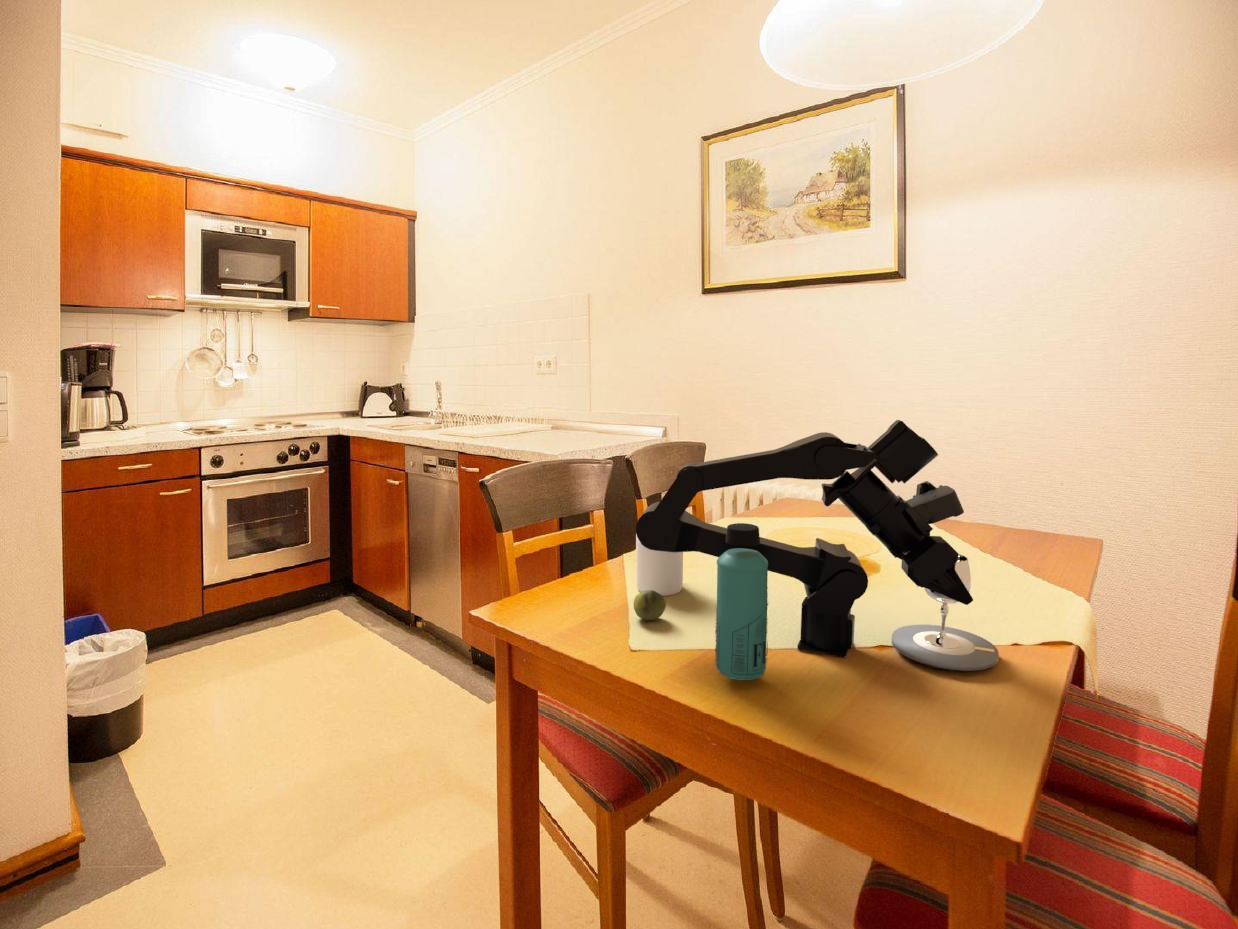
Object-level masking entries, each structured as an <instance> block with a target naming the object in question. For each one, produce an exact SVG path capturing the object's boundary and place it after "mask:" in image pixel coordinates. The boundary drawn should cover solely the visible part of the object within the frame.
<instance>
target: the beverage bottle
mask: <svg viewBox="0 0 1238 929" xmlns="http://www.w3.org/2000/svg"><path fill="white" fill-rule="evenodd" d="M726 528H727V533H726V543H728V544H730V545H735V546H755V545H758V544H760V537H761V536H760V527H759V526H758V525H756V524H752V523H743V522H741V523H739V522H736V523H730V524H728V525H727V527H726ZM716 565H717V566H716V567H717V568H716V572H717V574H716V580H717V581H716V606H715V607H716V608H715V612H716V613H715V621H716V622H715V633H714V634H715V635H714V637H715V639H714V640H715V644H714V648H715V649H714V652H715V655H714V656H715V658H714V660H715V666H716V669H717V671H718V672H719V673H720V674H721V675H722V676H725V677H727V678H729V679H732V680H733V679H734V680H739V681H750V680H751V681H752V680H755V679H759V678H761V677H762V676H764V674H765V672H766V669H767V664H768V657H767V656H768V651H769V650H768V648H769V645H768V644H769V640H768V635H767V634H768V631H769V630H768V629H769V628H768V624H769V618H768V606H769V604H770V602H769V601H768V600H769V599H770V598H769V593H770V592H769V590H768V589H769V587H768V578H769V577H768V574H769V573H768V572H769V571H768V561H767V559H766V558H765V557H764V556H763V555H762V554H761V553H759V552H758V551H756V550H752V549H745V548H735V549H729V550H727V551H726V552H724V553H723V554H722V555H721V556H720V557H717V560H716ZM768 592H769V593H768ZM768 598H769V599H768Z"/></svg>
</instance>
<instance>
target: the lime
mask: <svg viewBox="0 0 1238 929" xmlns="http://www.w3.org/2000/svg"><path fill="white" fill-rule="evenodd" d="M666 603H667V602H666V599H665V598H664V596H662V595H661V594H659V593H657V592H656V591H653V590H645V591H642V592H639V593H638V594H637V595H636V596H635V597H634V599H633V609H634V612H635V614H636V616H637V617H638V618H640V619H642V620H644V621H647V622H648V621H656V620H657V619H658V618H659V619H660V618H661V617H662V615H663V614H664V612H665V610H666V606H667V604H666Z"/></svg>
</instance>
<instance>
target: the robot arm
mask: <svg viewBox="0 0 1238 929" xmlns="http://www.w3.org/2000/svg"><path fill="white" fill-rule="evenodd" d="M938 456H939V453H938V451H937V450H936V449H935V448H934V447H933V446H932V445H931V444H930V443H929V442H928V441H927V440H926V439H925V438H924V437H923V436H920V435H918V434H917V432H915V431H914V430H913V429H912V428H911V427H909V426H908V425H907V424H906V423H905V422H904V421H903V420H900V419H896V420H894V422H893V423H892V424H891V425H889V426H888V428H887V430H886V431H885V432H883V433H882V434H881V435H880V436H878V437H877V439H875V441H873V442H872V443H871V444H870V445H869V446H868V447H867V446H866V445H863V444H861V443H849V442H844V441H843V439H841V438H839V436H837V435H835V434H834V433H831V432H827V431H826V432H817V433H814V434H812V435H809V436H806V437H803V438H801V439H798V440H795V441H792V442H791V443H789V444H786V445H784V446H781V447H778V448H776V449H771V450H766V451H760V452H759V451H758V452H754V453H747V454H742V455H741V454H740V455H736V456H730V457H726V458H725V457H724V458H720V459H719V458H718V459H713V460H707V461H702V462H693V461H691V462H689V463H685V464H684V465H683V466H681V468H680V470H679V471H678V472H677V474H676V478H675V479H674V481H673V482H672V484H671V485H670V487H669V488H668V489H667V491H666V492H665V494H664V495H663V497H662V498H661V500H660V501H655V502H654V503H652V504H650V505H649V506H648V507H646V509H645V510H644V511H643V512H642V514H641V515H640V517H639V518H638V519H637V522H636V526H635V535H636V534H637V538H638V539H639V541H640V542H641V544H642V545H643V546H644V547H645V548H648V549H650V550H655V551H665V552H683V553H689V552H690V553H691V552H694V553H695V552H696V553H702V554H706V555H709V556H712V557H717V558H719V557H720V556H721V555H722V554H723V553H724V552H726V551H727V550H729V549H735V548H745V549H752V550H756V551H758V552H759V553H761V554H762V555H763V556H764V557H765V558H766V559H767V561H768V572H771V573H774V574H775V573H776V574H780V575H782V576H787V577H791V578H793V579H795V580H798V582H799V581H800V582H801V583H802V584H803V586H804V590H805V594H806V596H805V597H804V599H803V601H802V603H801V613H800V614H801V615H800V617H801V618H800V639H799V641H798V643H797V645H796V646H797V647H796V648H797V649H798V650H800V651H806V652H812V653H816V654H821V655H827V656H833V657H839V658H847V656H848V652H849V650H851V649H852V648H853V646H854V645H853V644H854V641H855V640H854V638H855V622H856V619H855V618H856V617H855V614H852V608H853V605H854V603H855V601H856V600H858V599H860V598H861V597H862V596H864V594H865V593H866V592H867V589H868V587H869V577H868V574H867V572H866V570H865V568H864V567H863V565H862V563H861V561H860V560H859V558H858V557H857V555H856V554H855V553H854V552H852V551H851V550H848V548H847V546H846V544H845V543H839V544H836V543H832V542H829V541H827V540H824V539H822V538H819V537H816V539H815V544H814V545H815V546H807V547H802V546H795V545H792V544H788V543H784V542H780V541H776V540H772V539H769V538H765V537H762V536H759V537H760V544H758V545H755V546H735V545H730V544H728V543H726V533H727V527H725V526H724V527H723V526H720V525H716V524H713V523H708V522H705V521H703V520H702V519H699V517H698V516H697V517H696V516H695V515H693V514H692V513H690V512H688V511H687V508H689V505H691V503H692V501H693V500H694V498H695V497H696V496H697V494H698V493H699V492H703V491H711V490H716V489H722V488H727V487H728V488H729V487H733V486H739V485H744V484H745V485H747V484H751V483H752V484H753V483H758V482H764V481H765V482H766V481H769V480H776V479H795V480H796V479H797V480H811V481H813V480H817V481H818V480H821V481H823V480H826V481H829V480H834V479H836V480H834V481H833V482H832V483H825V482H824V483H822V484H821V489H822V495H821V496H822V497H821V501H822V503H823V504H824V506H825V507H830V506H831V505H832V504H833V503H834V502H835V501H837V499H838V500H839V501H840V502H841V503H842V504H843V505H844V506H845V507H846V508H847V509H848V510H849V511H850V512H851V513H852V514H853V515H854V516H855V517H856V518H857V519H858V520H859V522H861V524H863V525H864V526H865V528H866V529H867V530H868V531H869V533H870V534H872V536H874V537H876V539H878V540H879V541H880V543H882V545H884V547H885V548H886V549H887V550H888V552H889V553H890V554H891V555H892V556H893V557H894V558H895V559H896V558H898V559H899V560H901V567H900V568H901V569H902V571H903V573H905V575H906V576H907V577H908V578H909V579H910V581H911V582H912V583H914V584H915V585H916V587H920V588H923V589H924V588H927V589H929V590H932V591H934V592H937V593H939V594H942V595H944V596H947V597H949V598H951V599H954V600H956V601H958V602H957V603H960V604H962V605H965V606H968V605H970V604H971V603H972V602H973V601H974V598H973V597H972V595H971V593H970V591H969V592H968V590H967V588H966V587H965V585H964V584H963V582H962V580H961V579H960V577H959V575H958V574H957V572H956V570H955V565H956V562H957V561H958V555H959V554H960V553H958V551H957V550H956V549H954V548H953V546H951V545H950V543H949V542H948V541H947V540H945V539H944V538H943V537H942V536H941V535H939V536H938V535H931V532H932V530H934V528H933V527H932V526H931V524H936V523H938V522H941V521H945V520H947V519H949V518H952V517H955V518H956V517H959V516H961V515H963V514H964V513H965V511H964V508H963V506H962V504H961V501H960V499H959V496H958V494H957V492H956V490H955V489H954V488H952V487H951V486H949V485H942V484H940V485H938V487H936V486H935V485H934V484H933V483H931V482H929V480H928V481H927V480H925V481H923V482H920V483H918V484H917V485H916V493H915V495H912V498H910V499H907V500H904V499H903V498H902V497H901V496H900V494H898V495H896V493H894V491H892V490H891V488H890V487H889V486H887V484H885V482H883V480H881V478H880V477H879V476H878V475H877V474H876V473H874V472H873V470H872V469H874V468H876V469H877V471H878V472H879V473H881V475H882V476H883V477H885V478H886V480H888V482H890V483H891V484H894V483H895V482H896V483H898V484H899V483H900V482H901V483H902V484H904V485H905V484H906V483H908V481H910V480H911V479H912V478H913V477H914V476H915V475H916V474H918V473H919V472H920V471H921V470H923V469H924V468H925V467H926V466H927V465H929V463H931V462H932V461H933V460H934V459H936V458H937V457H938ZM854 469H856V470H854ZM849 470H854V471H853V472H851V473H850V472H849Z"/></svg>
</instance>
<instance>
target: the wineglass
mask: <svg viewBox="0 0 1238 929" xmlns="http://www.w3.org/2000/svg"><path fill="white" fill-rule="evenodd" d="M958 554H959V555H958V561H957V562H956V565H955V570H956V572H957V574H958V575H959V577H960V579H961V580H962V582H963V584H964V585H965V587H966V588H967V590H968V592H969V593H970V591H971V587H972V574H971V567H970V563H969V558H968V557H967V556H965V555H963V554H960V553H958ZM923 589H924V592H925V593H926V594H927V595H928V596H929V597H930V598H931V599H933V600H935V601H936V602H939V603H941V606H940V607H939V609H940V614H941V625H940V626H941V631H940V633H939V634H930V635H927V636H925V637H924V640H925V641H926V642H927V643H929V644H931V645H933V646H936V647H941V648H957V647H959V646H960V642H959V641H958V640H956V639H955V638H952V637H950V636H947V635H946V633H945V627H946V621H947V618H948V617H947V616H948V614H949V605H948V604H955V603H959V602H958V601H956V600H954V599H951V598H949V597H947V596H944V595H942V594H939V593H937V592H934V591H932V590H929V589H927V588H924V587H923Z"/></svg>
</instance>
